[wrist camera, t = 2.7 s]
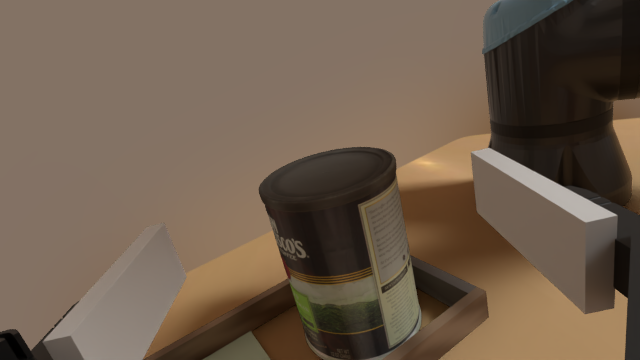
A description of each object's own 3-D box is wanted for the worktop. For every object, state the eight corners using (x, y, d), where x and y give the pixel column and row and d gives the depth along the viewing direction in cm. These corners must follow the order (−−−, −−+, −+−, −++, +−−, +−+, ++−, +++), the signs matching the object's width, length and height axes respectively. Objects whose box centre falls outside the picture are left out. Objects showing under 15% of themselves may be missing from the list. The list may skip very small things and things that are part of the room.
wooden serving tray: (371, 253, 41) (366, 234, 41) (488, 317, 29) (486, 291, 28) (100, 414, 29) (86, 391, 29) (106, 636, 17) (82, 608, 16)
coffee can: (330, 392, 26) (276, 217, 22) (291, 310, 36) (247, 175, 31) (450, 330, 29) (425, 161, 24) (384, 268, 38) (356, 139, 34)
